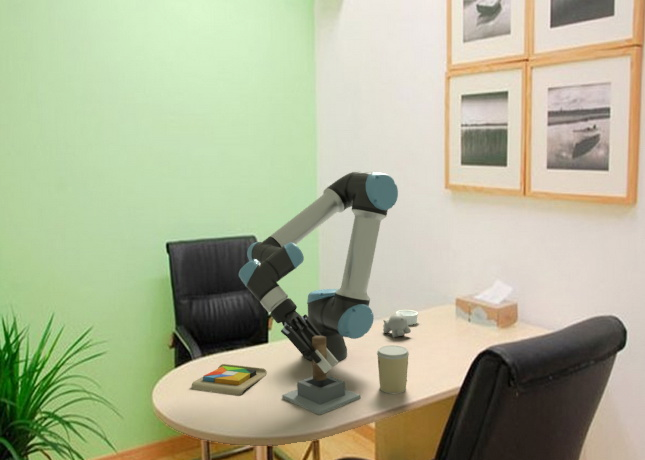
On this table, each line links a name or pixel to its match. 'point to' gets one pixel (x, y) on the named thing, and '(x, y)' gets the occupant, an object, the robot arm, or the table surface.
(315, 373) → the peg
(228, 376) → the wooden puzzle
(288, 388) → the table surface
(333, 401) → the socket
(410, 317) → the ramekin
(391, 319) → the toy rhinoceros
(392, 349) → the coffee cup
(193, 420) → the table surface
